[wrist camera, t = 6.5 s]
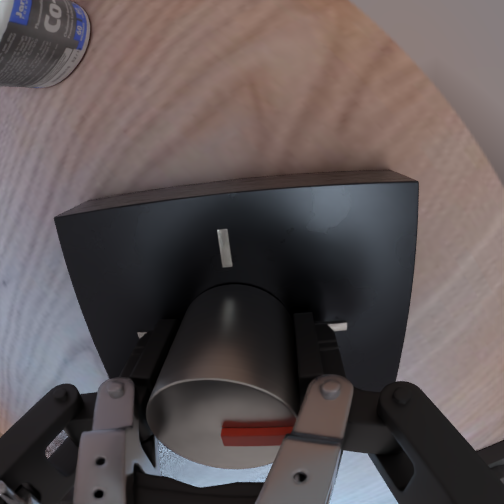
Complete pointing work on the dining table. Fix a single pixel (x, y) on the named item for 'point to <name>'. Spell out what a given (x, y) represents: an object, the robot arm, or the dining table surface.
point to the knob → (228, 380)
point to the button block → (494, 459)
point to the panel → (253, 258)
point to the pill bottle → (40, 41)
